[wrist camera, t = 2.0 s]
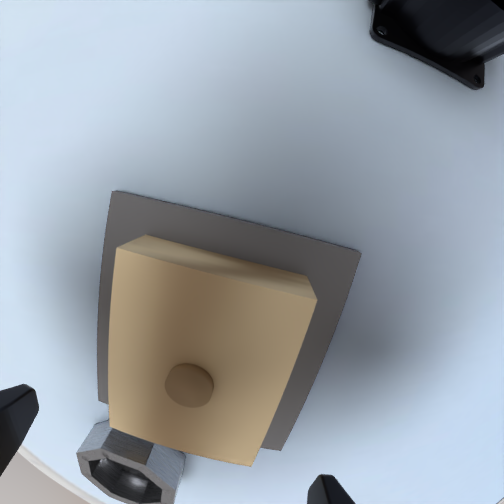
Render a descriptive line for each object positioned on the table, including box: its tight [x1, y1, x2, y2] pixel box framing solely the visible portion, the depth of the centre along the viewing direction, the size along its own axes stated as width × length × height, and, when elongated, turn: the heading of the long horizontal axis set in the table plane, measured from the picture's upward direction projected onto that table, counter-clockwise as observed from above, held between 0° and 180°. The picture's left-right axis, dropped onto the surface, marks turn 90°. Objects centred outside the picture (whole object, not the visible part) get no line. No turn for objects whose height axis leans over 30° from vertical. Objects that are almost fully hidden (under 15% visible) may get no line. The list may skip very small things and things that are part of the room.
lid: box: [108, 235, 317, 467], centre depth 12 cm, size 7×9×3 cm
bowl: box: [76, 420, 185, 504], centre depth 15 cm, size 6×6×3 cm
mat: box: [97, 191, 362, 451], centre depth 14 cm, size 11×12×1 cm
